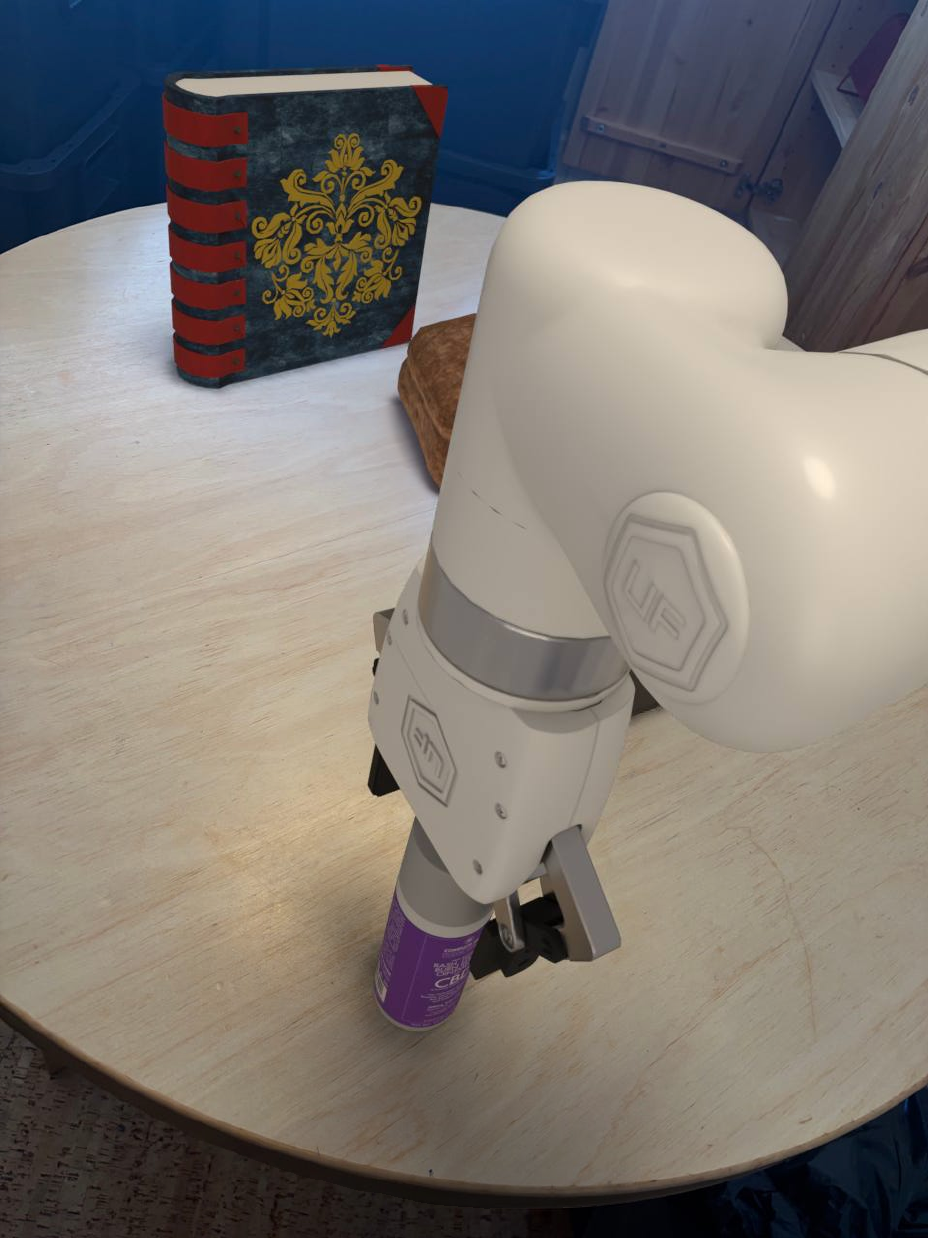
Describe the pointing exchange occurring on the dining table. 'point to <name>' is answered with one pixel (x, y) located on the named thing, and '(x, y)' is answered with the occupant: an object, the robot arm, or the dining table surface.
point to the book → (295, 213)
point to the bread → (435, 385)
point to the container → (426, 940)
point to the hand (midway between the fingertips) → (447, 866)
